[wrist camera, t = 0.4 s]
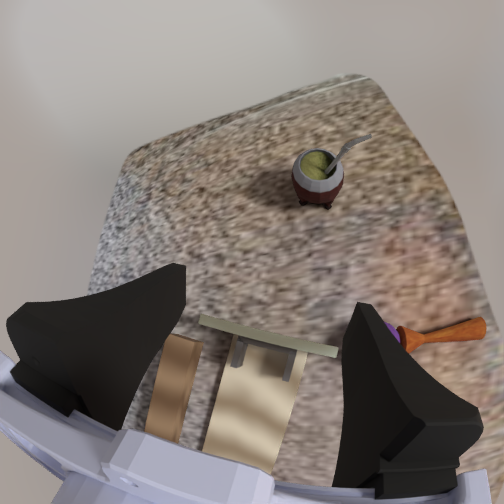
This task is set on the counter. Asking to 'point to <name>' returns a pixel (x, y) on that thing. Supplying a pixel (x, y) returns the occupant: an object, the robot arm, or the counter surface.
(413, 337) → the kendama
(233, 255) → the counter surface
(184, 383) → the rail
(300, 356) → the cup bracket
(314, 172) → the mate gourd
